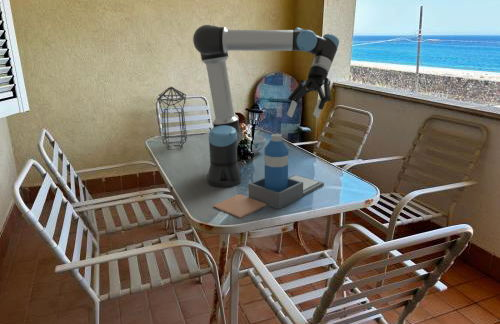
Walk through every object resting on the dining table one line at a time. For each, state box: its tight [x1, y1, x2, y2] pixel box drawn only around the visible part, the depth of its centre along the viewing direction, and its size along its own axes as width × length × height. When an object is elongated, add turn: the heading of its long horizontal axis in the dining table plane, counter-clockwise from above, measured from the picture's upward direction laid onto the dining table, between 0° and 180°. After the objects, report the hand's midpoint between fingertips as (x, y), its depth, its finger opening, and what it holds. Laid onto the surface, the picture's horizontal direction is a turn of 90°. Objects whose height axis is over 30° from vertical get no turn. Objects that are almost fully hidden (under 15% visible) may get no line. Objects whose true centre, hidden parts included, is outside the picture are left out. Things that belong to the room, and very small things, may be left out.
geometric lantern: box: [156, 86, 188, 149], centre depth 204 cm, size 16×16×35 cm
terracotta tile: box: [212, 193, 268, 219], centre depth 133 cm, size 14×14×1 cm
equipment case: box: [248, 174, 325, 210], centre depth 145 cm, size 15×30×6 cm, turn 137°
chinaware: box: [252, 135, 267, 155], centre depth 198 cm, size 15×15×8 cm
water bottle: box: [264, 133, 289, 192], centre depth 137 cm, size 9×9×25 cm
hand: (302, 116), depth 143 cm, fingers open, 13 cm apart
